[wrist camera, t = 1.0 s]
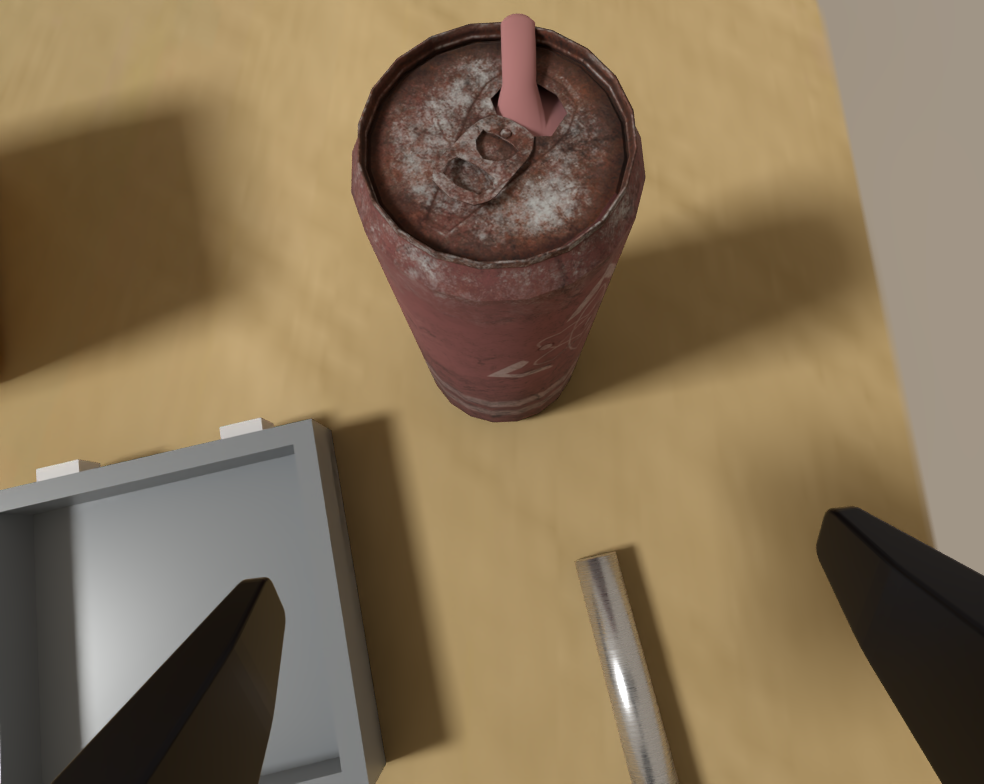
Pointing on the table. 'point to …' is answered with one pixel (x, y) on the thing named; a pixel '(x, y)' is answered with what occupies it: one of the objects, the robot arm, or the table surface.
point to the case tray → (182, 596)
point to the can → (498, 205)
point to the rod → (626, 671)
